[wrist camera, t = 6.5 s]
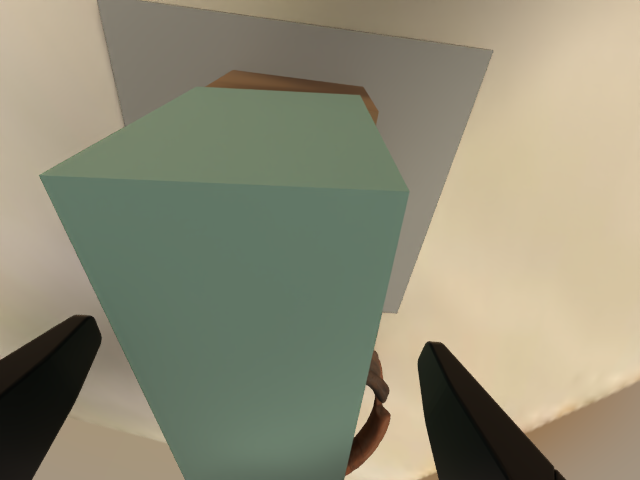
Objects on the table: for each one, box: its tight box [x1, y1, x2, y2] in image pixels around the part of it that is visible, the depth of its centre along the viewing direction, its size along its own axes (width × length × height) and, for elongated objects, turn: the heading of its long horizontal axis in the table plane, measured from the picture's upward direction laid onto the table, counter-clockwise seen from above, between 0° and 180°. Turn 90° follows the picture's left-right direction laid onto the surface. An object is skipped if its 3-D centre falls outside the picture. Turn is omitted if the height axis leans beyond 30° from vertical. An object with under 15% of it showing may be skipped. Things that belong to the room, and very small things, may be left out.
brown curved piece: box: [345, 350, 390, 476], centre depth 22 cm, size 12×10×8 cm
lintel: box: [39, 87, 410, 480], centre depth 10 cm, size 11×4×6 cm, turn 177°
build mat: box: [97, 0, 493, 313], centre depth 15 cm, size 14×14×1 cm
